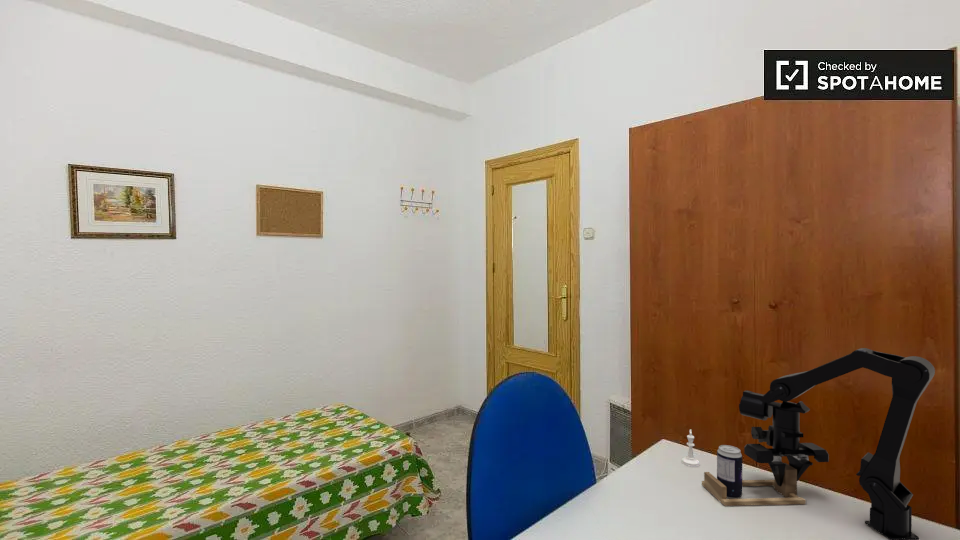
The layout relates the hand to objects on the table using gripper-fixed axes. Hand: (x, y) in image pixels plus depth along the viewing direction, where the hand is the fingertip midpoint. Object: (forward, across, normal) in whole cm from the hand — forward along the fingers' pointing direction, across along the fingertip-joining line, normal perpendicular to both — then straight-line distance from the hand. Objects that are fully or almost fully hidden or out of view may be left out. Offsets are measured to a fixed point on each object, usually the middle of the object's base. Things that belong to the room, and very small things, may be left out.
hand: (785, 485), depth 114 cm
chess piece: (+2, +15, -19) cm, 24 cm away
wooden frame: (+2, +8, 0) cm, 9 cm away
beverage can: (+2, +15, 0) cm, 15 cm away
